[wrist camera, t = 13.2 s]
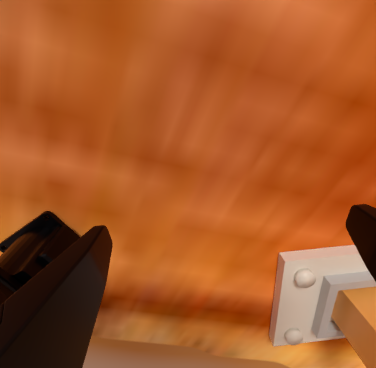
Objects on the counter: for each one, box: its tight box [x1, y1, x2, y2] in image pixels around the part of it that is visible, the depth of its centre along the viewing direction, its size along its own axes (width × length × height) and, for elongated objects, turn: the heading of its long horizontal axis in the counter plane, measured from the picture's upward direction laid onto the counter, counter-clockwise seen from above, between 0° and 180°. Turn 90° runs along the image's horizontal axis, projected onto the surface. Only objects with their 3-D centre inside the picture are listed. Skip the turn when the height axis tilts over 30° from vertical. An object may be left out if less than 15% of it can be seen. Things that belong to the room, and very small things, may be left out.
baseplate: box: [269, 245, 376, 346], centre depth 27 cm, size 18×14×3 cm
